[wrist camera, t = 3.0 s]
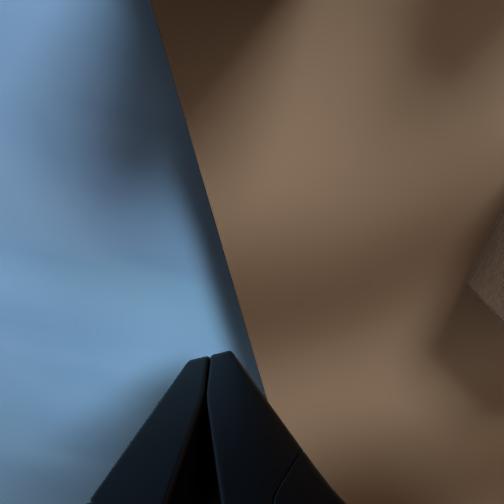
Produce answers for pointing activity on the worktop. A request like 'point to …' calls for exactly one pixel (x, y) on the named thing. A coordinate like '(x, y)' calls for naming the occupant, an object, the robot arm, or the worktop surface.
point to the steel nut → (490, 271)
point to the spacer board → (359, 224)
